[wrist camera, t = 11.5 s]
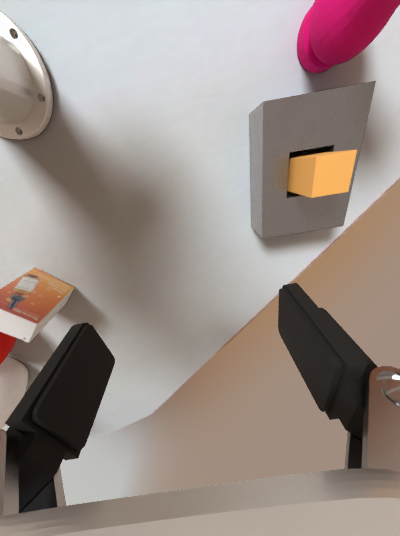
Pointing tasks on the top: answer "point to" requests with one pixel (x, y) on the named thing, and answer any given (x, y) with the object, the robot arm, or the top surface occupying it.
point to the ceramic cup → (5, 345)
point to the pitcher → (11, 387)
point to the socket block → (296, 139)
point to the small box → (31, 303)
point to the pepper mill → (340, 30)
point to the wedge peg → (321, 173)
